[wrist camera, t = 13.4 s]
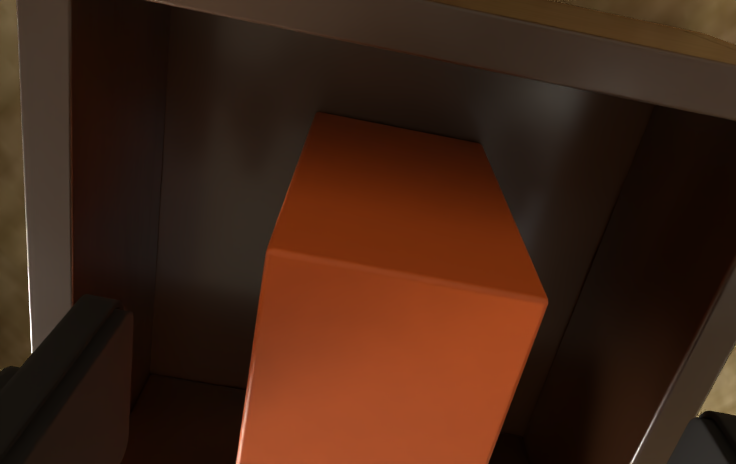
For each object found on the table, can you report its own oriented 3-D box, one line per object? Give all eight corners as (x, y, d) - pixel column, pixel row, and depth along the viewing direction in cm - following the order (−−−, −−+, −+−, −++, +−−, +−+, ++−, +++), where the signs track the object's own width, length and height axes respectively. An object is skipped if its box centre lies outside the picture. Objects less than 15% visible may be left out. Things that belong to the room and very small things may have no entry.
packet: (482, 142, 15) (551, 301, 9) (424, 347, 18) (446, 581, 12) (315, 110, 15) (265, 249, 9) (281, 322, 18) (223, 547, 11)
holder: (705, 33, 15) (875, 94, 10) (536, 444, 20) (587, 621, 15) (147, -86, 14) (10, -88, 9) (129, 376, 19) (38, 538, 14)
